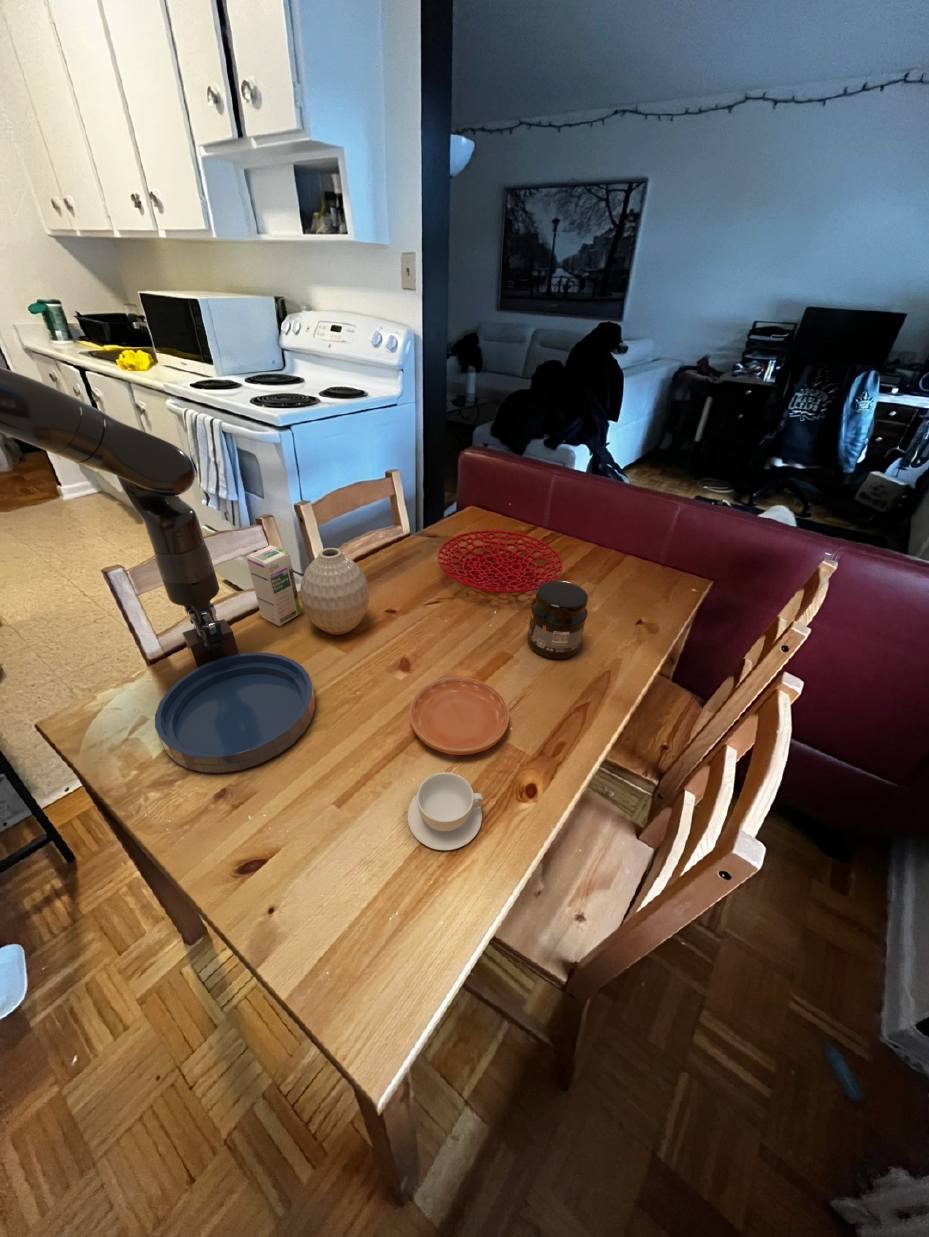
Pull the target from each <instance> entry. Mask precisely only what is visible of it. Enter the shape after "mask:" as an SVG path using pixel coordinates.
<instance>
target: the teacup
mask: <svg viewBox="0 0 929 1237" xmlns="http://www.w3.org/2000/svg"><path fill="white" fill-rule="evenodd" d="M483 798H484V797H483V794H482V793H480V792H474V790H473V788H472V785H471V784H470V783H469V782H468V780H467V779H466V778H464V777H463V776H461V775H459V774H457V773H453V772H450V771H449V772H446V771H444V772H437V773H434V774H431V775H429V776H428V777H427V778H425V779H423V781H422V782H421V783H420V785H419V786H418V789H417V792H416V795H415V796H414V797H413V799H412V800H411V802H410V804H409V806H408V809H407V825H408V827H409V830H410V831H411V834H412V835H413V836H414V837H415V839H416V840H417V841H418V842H420V843H421V844H422V845H424V846H426V847H427V848H431V849H433V850H438V851H451V850H456V849H459V848H461V847H464V846H466V845H467V844H469V843H470V842H471V841H472V840H473V839H474V838H475V837H476V835H477V834H478V832H479V830H480V828H481V825H482V822H483V821H482V820H483V812H482V808H481V806H482V805H483V803H484V799H483Z"/></svg>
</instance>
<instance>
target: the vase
mask: <svg viewBox="0 0 929 1237" xmlns="http://www.w3.org/2000/svg"><path fill="white" fill-rule="evenodd" d="M369 589H370V588H369V583H368V581H367V578H366V576H365V573H364V572H363V571H362V569H361V567H359V565H358V564H357V563H356V562H355V561H354V560H353V559H351V558H350V557H349V556H348V555H345V554H343V552H342V551H341V550H340V548H339V549H338V548H336V547H327V548H324V549H321V550H320V551H319V553H318V555H317V557H316V558H314V559H313V560H312V561H311V562H310V563H309V565H308V566H307V568H306V569H305V571H304V573H303V576H302V579H301V583H300V589H299V590H300V592H299V593H300V600H301V605H302V608H303V610H304V613H305V615H306V616H307V618H308V619H309V621H311V622H312V624H314V626H316V627H317V628H318V629H320V630H322V631H323V632H325V633H327V634H329V635H333V636H336V635H337V636H339V635H345V634H348V633H350V632H352V631H353V630H354V629H355V628H356V627H357V626H358V625H360V623H361V622H362V620H363V619H364V618H365V616H366V613H367V611H368V607H369V603H370V590H369Z"/></svg>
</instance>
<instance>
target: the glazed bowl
mask: <svg viewBox="0 0 929 1237" xmlns="http://www.w3.org/2000/svg"><path fill="white" fill-rule="evenodd" d="M315 699H316V698H315V693H314V687H313V682H312V680H311V677H310V674H309V673H308V671H307V670H305V668H304V667H303V665H301V664H300V663H299V662H297V661H296V660H294V659H293V658H292V659H291V658H289V657H287V656H284V655H281V654H276V653H271V652H255V651H254V652H244V653H239V654H236V655H231V656H227V657H223V658H220V659H217V660H214V661H212V662H209V663H206V664H204V665H202V666H200V667H198V668H195V669H192V670H190V671H189V672H187V674H185V675H184V676H182V677H181V678H180V679H178V680H177V681H176V682H174V684H173V685H172V686H171V687H170V688H169V689H168V690H167V691H166V692H165V694H164V695H163V697H162V698H161V700H160V701H159V703H158V706H157V708H156V711H155V714H154V727H155V731H156V733H157V735H158V737H159V740H160V742H161V744H162V746H163V749H164V751H165V753H166V754H167V755H168V756H169V758H171V759H172V761H174V762H175V763H177V764H179V765H180V766H182V767H184V768H186V769H188V770H193V771H196V772H197V771H198V772H201V773H228V772H235V771H242V770H246V769H248V768H251V767H254V766H257V765H260V764H262V763H264V762H267V761H269V760H271V759H273V758H274V757H277V756H279V755H280V754H281V753H283V752H285V751H286V750H287V749H289V748H290V747H291V746H292V745H294V743H295V742H296V741H297V740H299V739H300V737H301V736H302V735H303V734H304V733H305V732H306V730H307V728H308V726H309V725H310V723H311V722H312V719H313V716H314V712H315V711H316V710H315V708H316V706H315V705H316V704H315V703H316V700H315Z"/></svg>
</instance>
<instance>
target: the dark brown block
mask: <svg viewBox="0 0 929 1237" xmlns="http://www.w3.org/2000/svg"><path fill="white" fill-rule="evenodd" d="M218 621H219V622H220V624H221V625H220V626H221V631H222V635H223V640H224V642H225V643H224V646H222V649H223V652H224V656H225V657H227V656H231V655H236V654H240V651H239V648H238V645H237V641H236V638H235V634H234V631H233V629H232V628H231V627H230V625H229V623H228V622H227V621H226V619H225V618H223V619H219V620H218ZM200 629H202V627H201V628H200ZM182 636H183V639H184V642H185V645H186V648H187V650H188V653H189V656H190V659H191V661H192V663H193V664H194V667H195V669H197V668H198V667H200V666H202V665H204V664H206V663H209V662H212V661H211V659H210V656H209V653H208V650H207V647H206V646H205V645H204V640H203V638H202V636H199V635H198V633H197V631H196V628H195V629H194V628H191V629H189V630H186V631H183V632H182Z"/></svg>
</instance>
